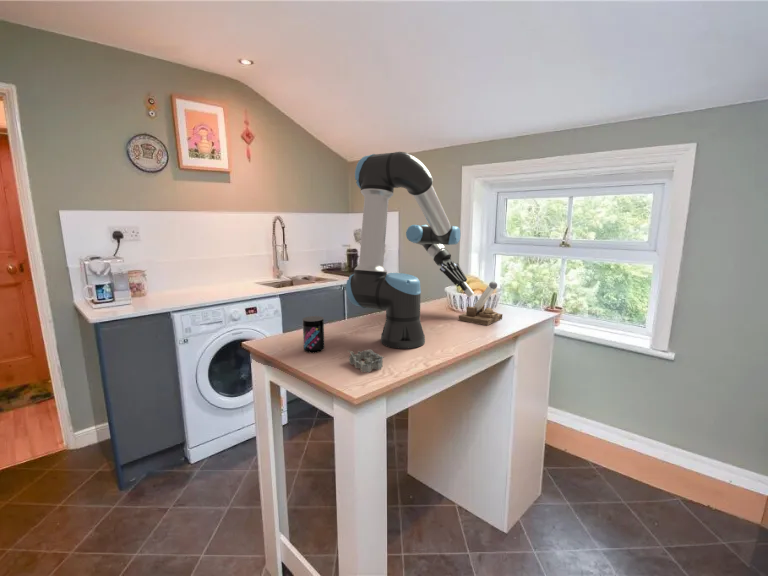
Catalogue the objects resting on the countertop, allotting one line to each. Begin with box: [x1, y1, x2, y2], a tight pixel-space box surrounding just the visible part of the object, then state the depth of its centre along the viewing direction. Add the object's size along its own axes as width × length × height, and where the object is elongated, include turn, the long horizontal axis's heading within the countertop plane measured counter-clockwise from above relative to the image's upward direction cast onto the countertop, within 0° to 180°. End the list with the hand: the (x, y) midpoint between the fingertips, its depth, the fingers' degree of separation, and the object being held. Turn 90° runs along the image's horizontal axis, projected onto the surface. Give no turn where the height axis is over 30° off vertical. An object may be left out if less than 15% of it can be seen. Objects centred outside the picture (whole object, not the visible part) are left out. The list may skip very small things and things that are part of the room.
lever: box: [473, 281, 498, 313], centre depth 157 cm, size 5×3×16 cm
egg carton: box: [347, 349, 385, 373], centre depth 109 cm, size 11×8×4 cm
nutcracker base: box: [458, 304, 503, 326], centre depth 159 cm, size 14×13×6 cm
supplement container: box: [302, 315, 325, 354], centre depth 121 cm, size 7×7×10 cm
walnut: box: [484, 307, 494, 315], centre depth 156 cm, size 4×4×4 cm
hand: (471, 295), depth 160 cm, fingers closed
